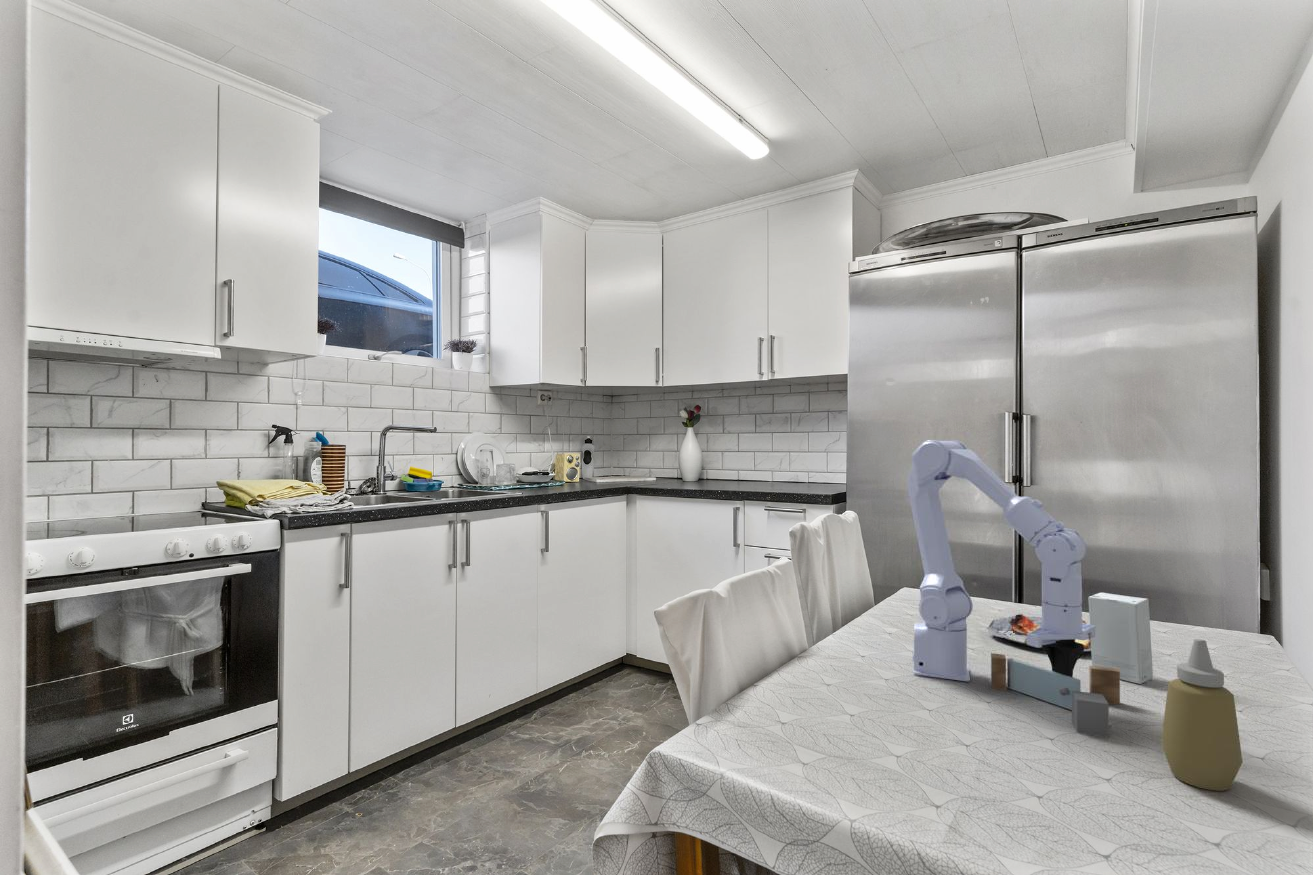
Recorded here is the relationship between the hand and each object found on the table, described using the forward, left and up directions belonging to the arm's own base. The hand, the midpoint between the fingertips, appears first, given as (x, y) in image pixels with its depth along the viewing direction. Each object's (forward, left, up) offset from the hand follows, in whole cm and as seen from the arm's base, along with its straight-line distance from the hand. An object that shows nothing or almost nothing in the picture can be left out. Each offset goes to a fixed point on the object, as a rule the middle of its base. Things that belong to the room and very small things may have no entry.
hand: (1062, 684), depth 109 cm
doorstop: (+2, -10, -3) cm, 10 cm away
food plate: (+3, +41, -4) cm, 42 cm away
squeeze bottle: (+12, -22, -4) cm, 25 cm away
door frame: (-2, +4, -3) cm, 6 cm away
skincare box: (+12, +20, -4) cm, 24 cm away
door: (-3, +1, -3) cm, 4 cm away
